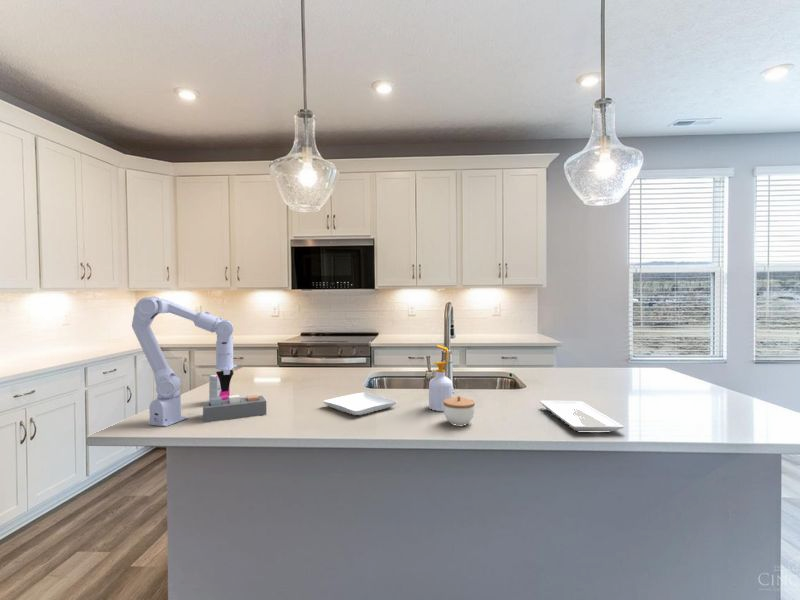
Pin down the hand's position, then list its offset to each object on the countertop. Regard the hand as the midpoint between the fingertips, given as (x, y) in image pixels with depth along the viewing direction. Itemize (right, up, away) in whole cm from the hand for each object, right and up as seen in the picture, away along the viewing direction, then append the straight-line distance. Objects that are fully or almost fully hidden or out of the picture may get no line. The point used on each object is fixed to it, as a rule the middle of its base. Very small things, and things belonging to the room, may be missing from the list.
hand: (224, 391), depth 158 cm
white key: (+3, -6, +2) cm, 7 cm away
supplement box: (-10, -9, +18) cm, 23 cm away
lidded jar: (+84, -10, -8) cm, 85 cm away
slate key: (-3, -6, -1) cm, 7 cm away
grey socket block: (+3, -9, +2) cm, 10 cm away
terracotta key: (+9, -7, +5) cm, 12 cm away
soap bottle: (+79, -9, +11) cm, 81 cm away
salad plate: (+48, -10, +11) cm, 50 cm away
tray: (+126, -10, -4) cm, 127 cm away
